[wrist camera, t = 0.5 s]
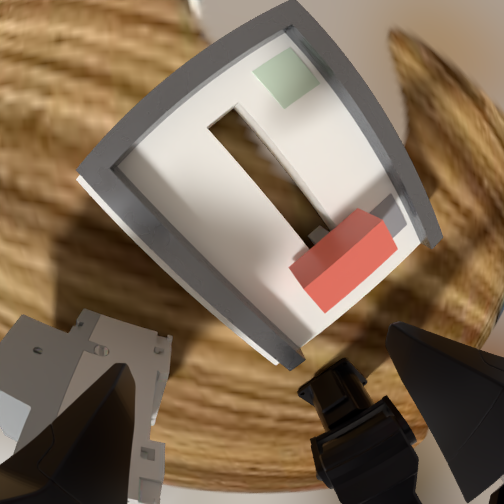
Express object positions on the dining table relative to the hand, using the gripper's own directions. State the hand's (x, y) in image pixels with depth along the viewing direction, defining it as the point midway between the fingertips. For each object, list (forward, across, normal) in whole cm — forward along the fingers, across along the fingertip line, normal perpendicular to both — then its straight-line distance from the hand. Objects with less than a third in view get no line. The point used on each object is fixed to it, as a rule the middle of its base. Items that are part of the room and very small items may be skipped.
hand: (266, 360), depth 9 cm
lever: (+12, -6, 0) cm, 14 cm away
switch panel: (+13, -4, -3) cm, 14 cm away
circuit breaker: (+13, +14, +8) cm, 21 cm away
